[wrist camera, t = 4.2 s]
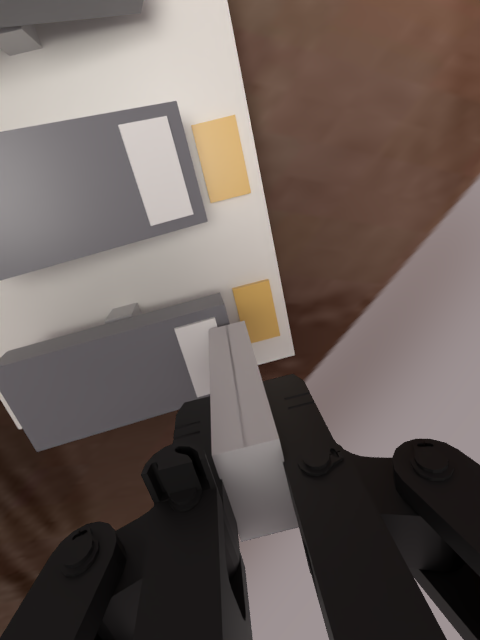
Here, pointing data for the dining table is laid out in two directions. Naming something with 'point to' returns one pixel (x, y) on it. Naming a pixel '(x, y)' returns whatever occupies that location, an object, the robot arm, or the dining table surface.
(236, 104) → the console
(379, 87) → the dining table surface
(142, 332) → the switch
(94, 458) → the dining table surface
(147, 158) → the switch
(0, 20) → the switch
